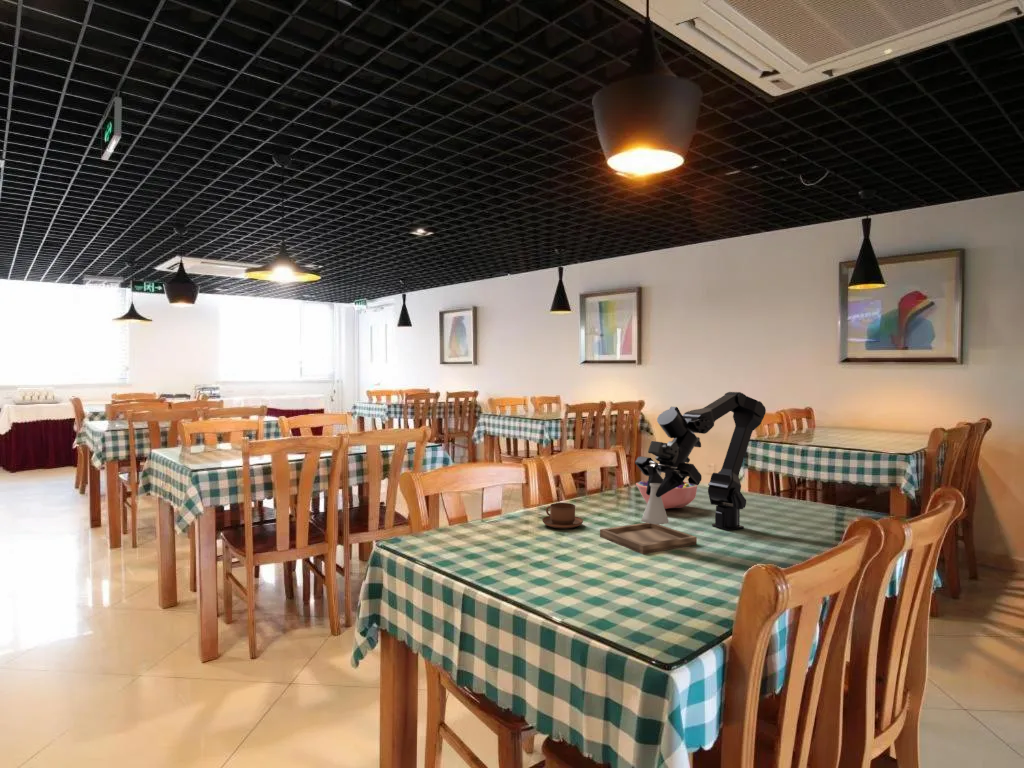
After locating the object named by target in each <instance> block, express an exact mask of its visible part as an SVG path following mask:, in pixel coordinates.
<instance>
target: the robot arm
mask: <svg viewBox="0 0 1024 768" xmlns="http://www.w3.org/2000/svg"><path fill="white" fill-rule="evenodd" d="M766 410H767V408H766V407H765V405H764V403H762V401H760V400H759V401H758V400H756V399H754V398H752V397H750V396H748V395H746V394H745V393H743V392H741V391H728V392H726V393H724V394H723V396H721V397H719V398H717V399H716V400H714V401H712V402H711V403H709V404H708V405H706V406H704V407H703V408H698V409H696V408H695V409H692V410H688V411H685V412H684V413H683V414H682V412H681V410H680V409H679V408H678V406H670V408H669V409H666V410H664V411H663V412H661V413H660V414H658V416H657V419H656V420H657V421H656V422H657V423H658V425H659V426H660V428H661V429H662V430H663V432H664V433H665V435H667V437H668V438H669V439H672V440H671V441H670V440H669V441H668V442H667V443H666V442H662V441H656V440H655V441H654V440H651V441H650V445H649V446H648V447H649V448H648V451H647V453H648V454H652V455H653V456H654V457H655V460H656V461H657V462H659V463H657V462H656V461H654V460H653V459H652V457H649V456H642V455H641V456H637V458H636V459H635V462H634V464H635V466H636V467H637V468H638V469H639V471H640V472H641V473H642V474H643V475H644V476H647V477H648V480H647V481H648V485H647V491H646V494H647V495H650V493H651V486H650V483H659V484H661V485H660V486H659V488H658V490H657V492H656V496H657V497H660V496H662V495H663V494H665V493H667V492H668V491H670V490H672V489H674V488H676V487H678V486H680V485H684V482H685V480H686V479H687V478H688V479H687V482H689V483H690V484H693V485H697V486H699V484H700V483H701V481H702V473H701V472H700V471H699V469H698V468H697V467H696V465H694V463H690V461H691V459H690V458H689V457H690V454H691V453H692V451H693V449H694V448H701V447H702V442H701V438H700V437H699V436H697V435H696V434H701V435H704V434H708V432H710V431H711V430H712V429H713V428H714V426H715V422H716V421H717V420H719V419H721V418H722V417H724V416H725V415H727V414H728V413H730V412H732V414H733V415H732V418H733V422H734V425H735V427H734V430H733V432H732V435H731V438H730V441H729V445H728V448H727V451H726V454H725V458H724V461H723V462H722V463H723V464H722V467H721V470H720V471H718V472H713V473H712V474H711V475H710V480H709V482H708V485H707V486H708V488H707V493H708V498H709V500H710V501H709V502H710V505H713V506H715V512H714V515H715V516H714V517H715V520H714V522H715V523H711V526H712V527H715V528H719V529H721V530H726V531H734V530H740V529H744V527H745V526H744V525H742V524H741V525H740V522H741V521H740V520H741V519H740V518H741V517H740V516H741V515H740V513H741V512H740V511H741V510H744V509H745V508H746V507H747V506H746V504H747V499H746V498H745V497H744V495H743V493H742V491H741V489H742V483H741V480H740V477H739V475H740V473H741V472H740V471H741V469H742V466H743V462H744V459H745V456H746V453H747V450H748V446H749V443H750V440H751V437H752V434H753V431H755V430H756V429H757V428H758V427H759V426H760V425H761V424H762V422H763V420H764V417H765V416H766V413H767V411H766ZM662 473H664V478H663V477H662V476H661V475H662ZM683 481H684V482H683Z"/></svg>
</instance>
